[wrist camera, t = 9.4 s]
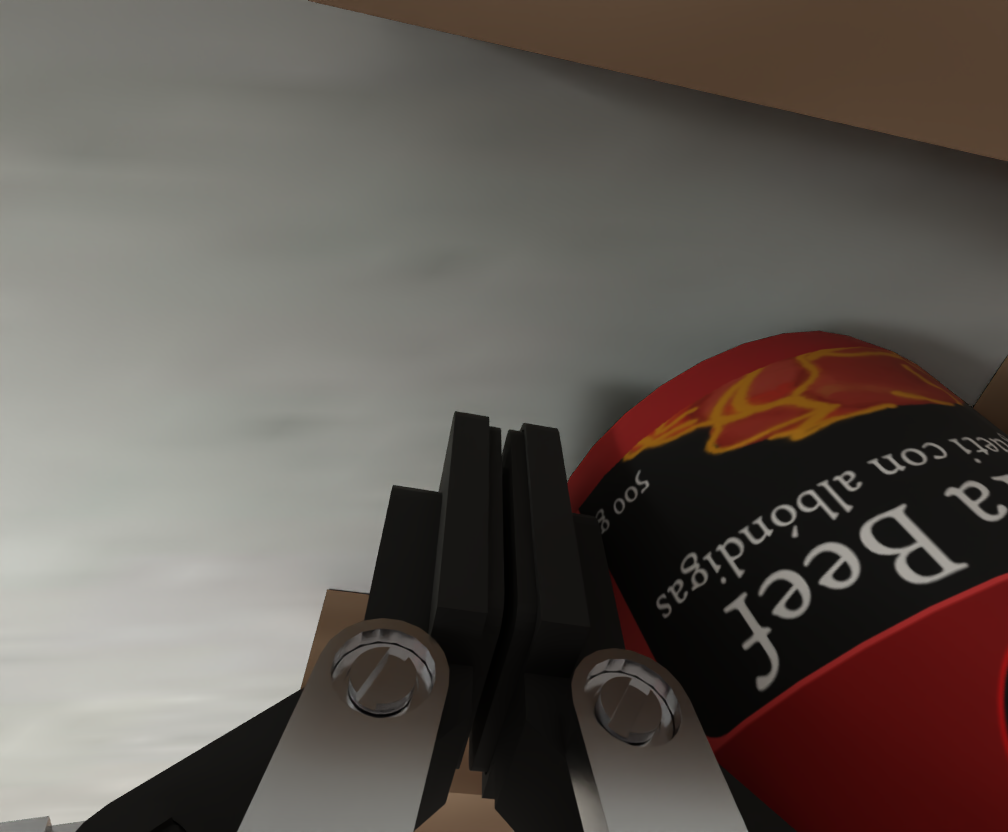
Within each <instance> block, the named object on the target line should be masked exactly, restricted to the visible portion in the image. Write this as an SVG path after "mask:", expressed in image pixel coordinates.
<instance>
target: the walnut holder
mask: <svg viewBox="0 0 1008 832" xmlns="http://www.w3.org/2000/svg"><path fill="white" fill-rule="evenodd" d="M308 1H312V2H316V3H320V4H325V5H329V6H333V7H338V8H342V9H346V10H351V11H355V12H360V13H364V14H368V15H373V16H377V17H381V18H386V19H390V20H394V21H399V22H403V23H407V24H412V25H416V26H420V27H425V28H429V29H434V30H438V31H442V32H447V33H451V34H455V35H460V36H464V37H468V38H473V39H477V40H481V41H486V42H490V43H494V44H499V45H503V46H508V47H512V48H516V49H521V50H525V51H529V52H534V53H538V54H542V55H547V56H551V57H555V58H560V59H564V60H568V61H573V62H577V63H582V64H586V65H590V66H595V67H599V68H603V69H608V70H612V71H616V72H621V73H625V74H629V75H634V76H638V77H642V78H647V79H651V80H656V81H660V82H664V83H669V84H673V85H677V86H682V87H686V88H690V89H695V90H699V91H703V92H708V93H712V94H716V95H721V96H725V97H730V98H734V99H738V100H743V101H747V102H751V103H756V104H760V105H764V106H769V107H773V108H777V109H782V110H786V111H790V112H795V113H799V114H803V115H808V116H812V117H817V118H821V119H825V120H830V121H834V122H838V123H843V124H847V125H851V126H856V127H860V128H864V129H869V130H873V131H877V132H882V133H886V134H891V135H895V136H899V137H904V138H908V139H912V140H917V141H921V142H925V143H930V144H934V145H938V146H943V147H947V148H951V149H956V150H960V151H965V152H969V153H973V154H978V155H982V156H986V157H991V158H995V159H999V160H1004V161H1008V0H308ZM973 409H975V410H976V411H977V412H978V413H980V414H981V415H982V416H984V417H985V418H986V419H987V420H989V421H990V422H991V423H993V424H994V425H995V426H996V427H998V428H999V429H1000V430H1002V431H1003V432H1004V433H1005V434H1007V435H1008V356H1007V357H1006V359H1005V360H1004V362H1003V363H1002V365H1001V366H1000V368H999V369H998V371H997V373H996V374H995V376H994V377H993V379H992V380H991V382H990V383H989V385H988V386H987V388H986V389H985V391H984V392H983V394H982V395H981V397H980V398H979V400H978V401H977V403H976V404H975V406H974V407H973ZM368 599H369V595H368V594H359V593H351V592H343V591H334V590H327V592H326V596H325V600H324V604H323V607H322V611H321V615H320V619H319V622H318V626H317V630H316V633H315V637H314V641H313V645H312V648H311V652H310V656H309V659H308V663H307V667H306V671H305V674H304V678H303V682H302V685H301V689H302V688H304V687H305V685H306V683H307V681H308V679H309V677H310V675H311V673H312V670H313V668H314V666H315V664H316V662H317V660H318V658H319V655H320V654H321V652H322V651H323V649H324V648H325V646H326V645H327V643H328V642H329V641H330V639H331V638H333V637H334V636H335V635H337V634H338V633H339V632H340V631H342V630H343V629H344V628H346V627H348V626H351V625H353V624H356V623H358V622H361V621H363V620H364V617H365V613H366V608H367V603H368ZM512 831H513V829H512V828H511V827H510V826H509V825H508V823H507V822H506V821H505V820H504V819H503V818H502V817H501V815H500V814H499V813H498V812H497V811H496V810H495V799H486V798H482V772H479V771H470V770H469V738H468V741H467V745H466V748H465V752H464V755H463V758H462V762H461V765H460V768H459V769H456V770H455V773H454V776H453V780H452V783H451V787H450V790H449V794H448V797H447V801H446V804H445V805H444V806H442V807H441V808H440V809H439V810H438V811H437V812H436V813H434V814H433V815H432V816H431V817H430V818H429V819H428V820H426V821H425V822H424V823H423V824H422V825H421V826H420V827H418V828H417V829H416V830H415V831H414V832H512Z"/></svg>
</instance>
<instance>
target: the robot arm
mask: <svg viewBox="0 0 1008 832" xmlns="http://www.w3.org/2000/svg"><path fill="white" fill-rule="evenodd" d="M468 738H469V770H470V771H479V772H482V798H486V799H495V810H496V811H497V812H498V813H499V814H500V815H501V817H502V818H503V819H504V820H505V821H506V822H507V823H508V825H509V826H510V827H511V828H512V829H513V831H512V832H797V831H796V830H795V829H794V828H793V827H791V826H790V825H789V824H788V823H787V822H786V821H784V820H783V819H782V818H781V817H780V816H779V815H778V814H776V813H775V812H774V811H773V810H772V809H771V808H769V807H768V806H767V805H766V804H765V803H764V802H763V801H761V800H760V799H759V798H758V797H757V796H756V795H754V794H753V793H752V792H751V791H750V790H749V789H748V788H746V787H745V786H744V785H743V784H742V783H741V782H739V781H738V780H737V779H736V778H735V777H734V776H733V775H731V774H730V773H729V772H728V771H727V770H726V769H725V768H723V767H722V766H721V765H720V764H719V763H718V762H717V760H716V758H715V755H714V753H713V751H712V749H711V746H710V744H709V742H708V740H707V737H706V735H705V733H704V731H703V728H702V726H701V724H700V722H699V719H698V717H697V715H696V712H695V710H694V708H693V706H692V703H691V701H690V699H689V697H688V696H687V694H686V692H685V691H684V689H683V687H682V686H681V684H680V683H679V682H678V680H677V679H676V678H675V677H674V676H673V675H672V674H671V673H670V672H669V671H668V670H667V669H666V668H664V667H663V666H661V665H660V664H658V663H657V662H655V661H654V660H652V659H651V658H649V657H647V656H644V655H642V654H639V653H637V652H634V651H632V650H626V649H625V644H624V639H623V634H622V630H621V625H620V620H619V615H618V611H617V606H616V601H615V597H614V592H613V587H612V582H611V578H610V573H609V568H608V563H607V559H606V554H605V549H604V544H603V540H602V535H601V530H600V526H599V523H598V520H597V518H596V517H595V516H591V515H584V514H578V513H572V509H571V503H570V497H569V491H568V485H567V478H566V472H565V466H564V460H563V454H562V447H561V441H560V435H559V431H558V429H557V428H551V427H545V426H539V425H533V424H527V423H523V425H522V427H521V430H520V431H515V430H509V431H508V433H507V437H506V441H505V445H504V449H503V453H502V450H501V428H497V427H491V426H489V417H486V416H480V415H474V414H469V413H463V412H457V411H455V413H454V417H453V421H452V426H451V431H450V436H449V442H448V447H447V452H446V457H445V462H444V467H443V472H442V477H441V482H440V488H439V492H435V491H428V490H422V489H415V488H409V487H402V486H396V485H393V487H392V491H391V495H390V500H389V505H388V509H387V514H386V519H385V524H384V528H383V533H382V538H381V542H380V547H379V552H378V556H377V561H376V566H375V570H374V575H373V580H372V585H371V589H370V594H369V599H368V603H367V608H366V613H365V617H364V620H363V621H361V622H358V623H356V624H353V625H351V626H348V627H346V628H344V629H343V630H342V631H340V632H339V633H338V634H337V635H335V636H334V637H333V638H331V639H330V641H329V642H328V643H327V645H326V646H325V648H324V649H323V651H322V652H321V654H320V655H319V658H318V660H317V662H316V664H315V666H314V668H313V670H312V673H311V675H310V677H309V679H308V681H307V683H306V685H305V687H304V688H302V689H300V690H299V691H297V692H295V693H294V694H292V695H290V696H289V697H287V698H285V699H284V700H282V701H280V702H279V703H277V704H275V705H274V706H272V707H270V708H268V709H267V710H265V711H263V712H262V713H260V714H258V715H257V716H255V717H253V718H252V719H250V720H248V721H247V722H245V723H243V724H242V725H240V726H238V727H237V728H235V729H233V730H232V731H230V732H228V733H227V734H225V735H223V736H222V737H220V738H218V739H216V740H215V741H213V742H211V743H210V744H208V745H206V746H205V747H203V748H201V749H200V750H198V751H196V752H195V753H193V754H191V755H190V756H188V757H186V758H185V759H183V760H181V761H180V762H178V763H176V764H175V765H173V766H171V767H170V768H168V769H166V770H165V771H163V772H161V773H159V774H158V775H156V776H154V777H153V778H151V779H149V780H148V781H146V782H144V783H143V784H141V785H139V786H138V787H136V788H134V789H133V790H131V791H129V792H128V793H126V794H124V795H123V796H121V797H119V798H118V799H116V800H114V801H113V802H111V803H109V804H108V805H106V806H105V807H104V808H102V809H101V810H100V811H98V812H97V813H96V814H94V815H93V816H92V817H90V818H89V819H88V820H86V821H81V822H74V823H67V824H59V825H51V822H50V818H49V816H46V817H38V818H31V819H23V820H16V821H8V822H1V823H0V832H414V831H415V830H416V829H417V828H418V827H420V826H421V825H422V824H423V823H424V822H425V821H426V820H428V819H429V818H430V817H431V816H432V815H433V814H434V813H436V812H437V811H438V810H439V809H440V808H441V807H442V806H444V805H445V804H446V801H447V797H448V794H449V790H450V787H451V783H452V780H453V776H454V773H455V770H456V769H459V768H460V765H461V762H462V758H463V755H464V752H465V748H466V745H467V741H468Z"/></svg>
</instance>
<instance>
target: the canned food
mask: <svg viewBox="0 0 1008 832" xmlns="http://www.w3.org/2000/svg"><path fill="white" fill-rule="evenodd" d="M567 485H568V491H569V497H570V503H571V509H572V513H578V514H584V515H591V516H595V517H596V518H597V520H598V523H599V526H600V530H601V535H602V540H603V544H604V549H605V554H606V559H607V563H608V568H609V573H610V578H611V582H612V587H613V592H614V597H615V601H616V606H617V611H618V615H619V620H620V625H621V630H622V634H623V639H624V644H625V649H626V650H632V651H634V652H637V653H639V654H642V655H644V656H647V657H649V658H651V659H652V660H654V661H655V662H657V663H658V664H660V665H661V666H663V667H664V668H666V669H667V670H668V671H669V672H670V673H671V674H672V675H673V676H674V677H675V678H676V679H677V680H678V682H679V683H680V684H681V686H682V687H683V689H684V691H685V692H686V694H687V696H688V697H689V699H690V701H691V703H692V706H693V708H694V710H695V712H696V715H697V717H698V719H699V722H700V724H701V726H702V728H703V731H704V733H705V735H706V737H707V740H708V742H709V744H710V746H711V749H712V751H713V753H714V755H715V758H716V760H717V762H718V763H719V764H720V765H721V766H722V767H723V768H725V769H726V770H727V771H728V772H729V773H730V774H731V775H733V776H734V777H735V778H736V779H737V780H738V781H739V782H741V783H742V784H743V785H744V786H745V787H746V788H748V789H749V790H750V791H751V792H752V793H753V794H754V795H756V796H757V797H758V798H759V799H760V800H761V801H763V802H764V803H765V804H766V805H767V806H768V807H769V808H771V809H772V810H773V811H774V812H775V813H776V814H778V815H779V816H780V817H781V818H782V819H783V820H784V821H786V822H787V823H788V824H789V825H790V826H791V827H793V828H794V829H795V830H796V831H797V832H1008V435H1007V434H1005V433H1004V432H1003V431H1002V430H1000V429H999V428H998V427H996V426H995V425H994V424H993V423H991V422H990V421H989V420H987V419H986V418H985V417H984V416H982V415H981V414H980V413H978V412H977V411H976V410H975V409H973V408H972V407H971V406H969V405H968V404H967V403H966V402H964V401H963V400H962V399H960V398H959V397H958V396H957V395H955V394H954V393H953V392H952V391H950V390H949V389H948V388H946V387H945V386H944V385H943V384H941V383H940V382H939V381H937V380H936V379H935V378H934V377H932V376H931V375H930V374H928V373H927V372H926V371H925V370H923V369H922V368H921V367H919V366H918V365H917V364H915V363H913V362H912V361H910V360H908V359H906V358H904V357H902V356H900V355H898V354H897V353H895V352H893V351H890V350H887V349H884V348H882V347H879V346H876V345H873V344H870V343H867V342H865V341H862V340H859V339H856V338H853V337H851V336H847V335H841V334H835V333H829V332H823V331H809V332H795V333H783V334H779V335H775V336H771V337H767V338H763V339H760V340H756V341H752V342H748V343H744V344H742V345H739V346H737V347H735V348H732V349H730V350H728V351H725V352H723V353H721V354H718V355H716V356H713V357H711V358H709V359H706V360H704V361H702V362H700V363H698V364H697V365H695V366H693V367H692V368H690V369H688V370H687V371H685V372H683V373H682V374H680V375H678V376H677V377H675V378H673V379H671V380H670V381H668V382H666V383H665V384H663V385H661V386H660V387H659V388H657V389H656V390H655V391H654V392H652V393H651V394H650V395H648V396H647V397H646V398H645V399H643V400H642V401H641V402H639V403H638V404H637V405H636V406H634V407H633V408H632V409H630V410H629V411H628V412H626V413H625V414H624V415H623V416H622V417H621V418H620V419H619V420H618V421H617V422H616V423H615V424H614V425H613V426H612V427H611V428H610V429H609V430H608V431H607V432H606V433H605V434H604V435H603V436H602V437H601V438H600V439H599V440H598V441H597V442H596V443H595V444H594V446H593V447H592V448H591V450H590V451H589V452H588V454H587V455H586V456H585V458H584V459H583V460H582V462H581V463H580V464H579V466H578V467H577V468H576V470H575V471H574V472H573V474H572V475H571V476H570V478H569V480H568V482H567Z"/></svg>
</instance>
